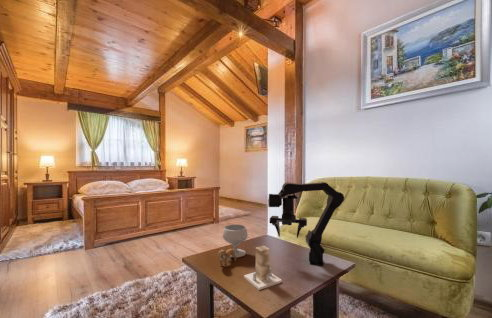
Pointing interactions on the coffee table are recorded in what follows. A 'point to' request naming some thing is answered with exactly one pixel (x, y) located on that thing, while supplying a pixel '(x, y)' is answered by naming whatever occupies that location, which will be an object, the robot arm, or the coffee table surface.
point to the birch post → (262, 262)
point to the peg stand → (269, 281)
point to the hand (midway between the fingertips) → (288, 237)
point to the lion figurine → (225, 256)
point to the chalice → (235, 237)
